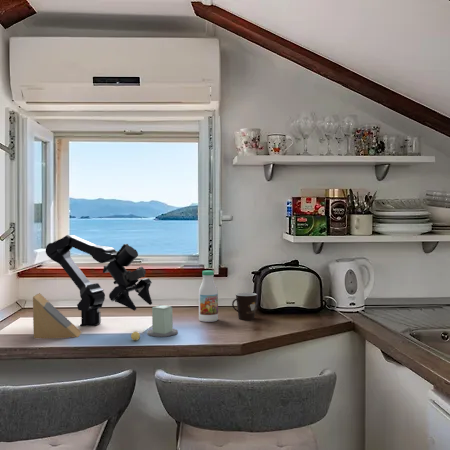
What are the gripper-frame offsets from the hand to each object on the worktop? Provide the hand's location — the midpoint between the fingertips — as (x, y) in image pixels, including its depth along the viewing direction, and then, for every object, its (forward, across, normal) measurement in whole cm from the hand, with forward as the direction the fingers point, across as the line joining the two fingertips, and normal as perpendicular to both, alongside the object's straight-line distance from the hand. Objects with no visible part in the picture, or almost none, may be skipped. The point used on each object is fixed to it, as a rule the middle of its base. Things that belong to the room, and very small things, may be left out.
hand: (143, 307), depth 187 cm
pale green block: (+12, 0, -1) cm, 12 cm away
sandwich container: (-10, -20, +23) cm, 32 cm away
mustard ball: (+10, -13, +1) cm, 16 cm away
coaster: (+12, 0, 0) cm, 12 cm away
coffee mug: (+24, +35, -10) cm, 43 cm away
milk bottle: (+16, +26, -2) cm, 30 cm away
